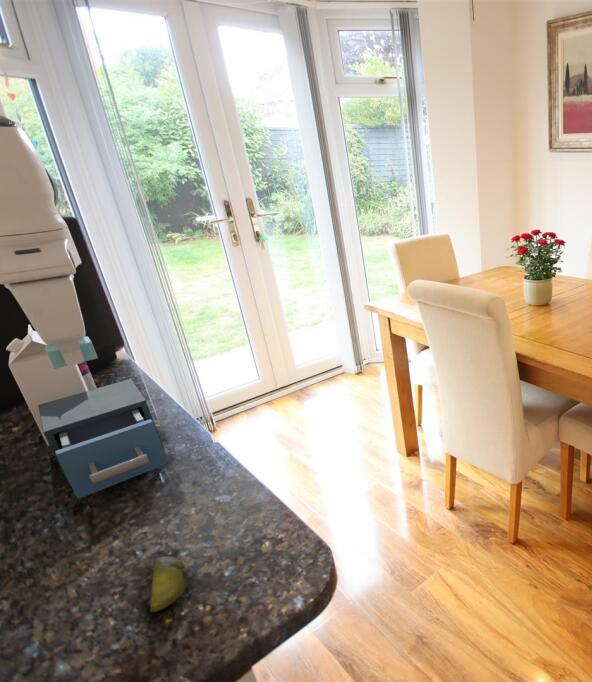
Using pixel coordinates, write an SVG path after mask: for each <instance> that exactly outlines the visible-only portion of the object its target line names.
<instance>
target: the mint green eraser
mask: <svg viewBox="0 0 592 682" xmlns="http://www.w3.org/2000/svg"><path fill="white" fill-rule="evenodd" d="M78 342H79V346H80V350H81V352H82V355H83V357H84V362H85V361H86V362H88V361H93V360H96V359H98V358H99V357H98V355H97V351H96V350H95V348H94V345H93V343H92V340H91V339H90V338H89V336H85V337H84V338H83V339H80V340H78ZM45 349H46V352H47V354H48V356H49V359H50V361H51V363H52V365H53V367H54V369H57V368H61V367H65V366H69V365H67V364H66V362H65V360H64V358H63V356H62V354H61V352H60V350H59V349H58V347H57V345H53V346H49V345H47V346H45Z"/></svg>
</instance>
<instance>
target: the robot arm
mask: <svg viewBox="0 0 592 682" xmlns="http://www.w3.org/2000/svg"><path fill="white" fill-rule="evenodd" d="M55 179H56V178H54V176H53V174H52V173H51V171H50V170H49V169H48V168H47V166H46V165H45V164H44V163H43V162H42V159H41V158H40V155H39V153H38V151H37V149H36V147H35V146H34V144H33V143H32V141H31V139H30V138H29V136H28V135H27V134H26V132H25V131H24V129H23V128H22V127H21V126H20V125H19V124H18V123H17V122H16V121H14V120H12V119H9V118H8V117H5V116H3V115H0V285H4V288H6V289H8V290H9V291H10V293H11V294H12V295H13V297H14V298H15V300H16V302H17V303H18V305H19V307H20V308H21V309H22V311H23V313H24V314H25V316H26V318H27V319H28V321H29V323H30V325H31V326H32V327H33V328H34V331H36V332H37V333H38V335H39V336H40V337H41V339H42V340H43V341H44V342H45V343H46V344H47V345H49V346H53V345H57V347H58V349H59V350H60V352H61V354H62V356H63V358H64V360H65V362H66V364H67V365H70V366H72V365H76V364H80V363H83V362H84V357H83V355H82V352H81V350H80V346H79V342H78V340H80V339H83V338H84V337H86V327H85V323H84V317H83V314H82V311H81V306H80V302H79V299H78V295H77V291H76V287H75V282H74V278H75V276H74V275H75V274H76V273H77V267H78V266H79V265H81V264H82V259H81V257H80V255H79V252H78V248H77V247H76V244H75V241H74V239H73V236H72V234H71V232H70V229H69V226H68V225H67V222H66V221H65V220H64V218H63V217H62V216H61V215H60V213H59V211H58V210H57V205H58V200H59V188H58V184H57V182H56V180H55Z"/></svg>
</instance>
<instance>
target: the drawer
mask: <svg viewBox="0 0 592 682" xmlns="http://www.w3.org/2000/svg"><path fill="white" fill-rule="evenodd" d="M154 424H155V423H154ZM154 424H153V422H152V420H151V419H149V420H146V421H144V419H143V417H142V416H141V414H140V413H139V411H138V409H137V408H135V409H132V410H128V411H125V412H122V413H119V414H116V415H113V416H110V417H106V418H103V419H100V420H97V421H94V422H91V423H87V424H84V425H81V426H78V427H75V428H72V429H69V430H65V431H62V432H59V436H60V440H61V444H62V447H63V449H60V450H57V451H55V452H56V456H57V458H58V460H59V462H60V464H61V466H62V468H63V470H64V472H65V474H66V476H67V478H68V480H69V482H70V484H71V485H70V486H71V489H72V491H73V492H74V495H75V497H76V499H77V500H79V499H82V498H84V497H87V496H89V495H92V494H95V493H97V492H101V491H102V490H104V489H107V488H109V487H112V486H115V485H117V484H120V483H122V482H124V481H127V480H130V479H132V478H135V477H137V476H140V475H143V474H145V473H148V472H150V471H153V470H154V469H158V468H160V467H162V466H165V465H167V464H169V461H168V459H167V456H166V454H165V450H163V448H162V445H163V444H162V445H161V443H160V440H161V439H160V440H159V437H160V436H159V437H158V435H157V432H158V431H157V432H156V430H155V427H154Z"/></svg>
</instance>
